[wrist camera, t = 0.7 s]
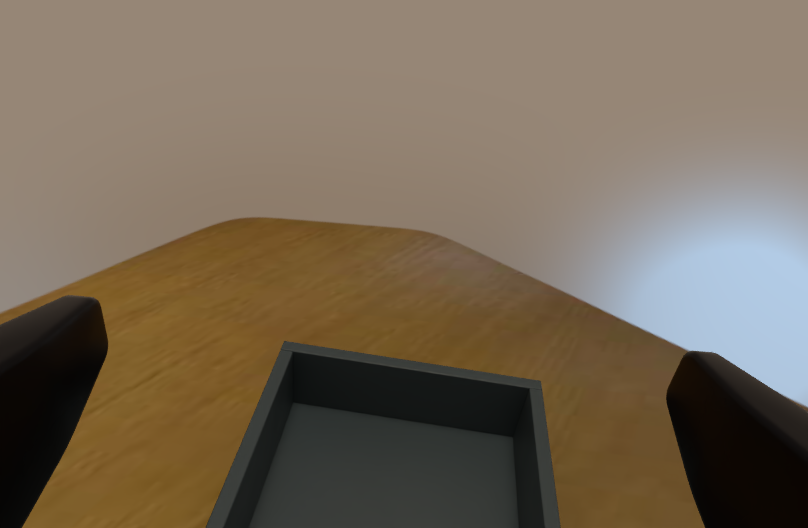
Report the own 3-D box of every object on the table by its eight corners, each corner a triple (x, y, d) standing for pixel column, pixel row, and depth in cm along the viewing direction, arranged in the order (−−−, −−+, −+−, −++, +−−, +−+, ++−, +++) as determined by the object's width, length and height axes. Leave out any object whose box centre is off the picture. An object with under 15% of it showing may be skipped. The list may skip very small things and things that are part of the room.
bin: (547, 737, 18) (583, 690, 16) (181, 675, 19) (165, 619, 16) (521, 436, 28) (541, 380, 26) (285, 398, 29) (284, 340, 26)
